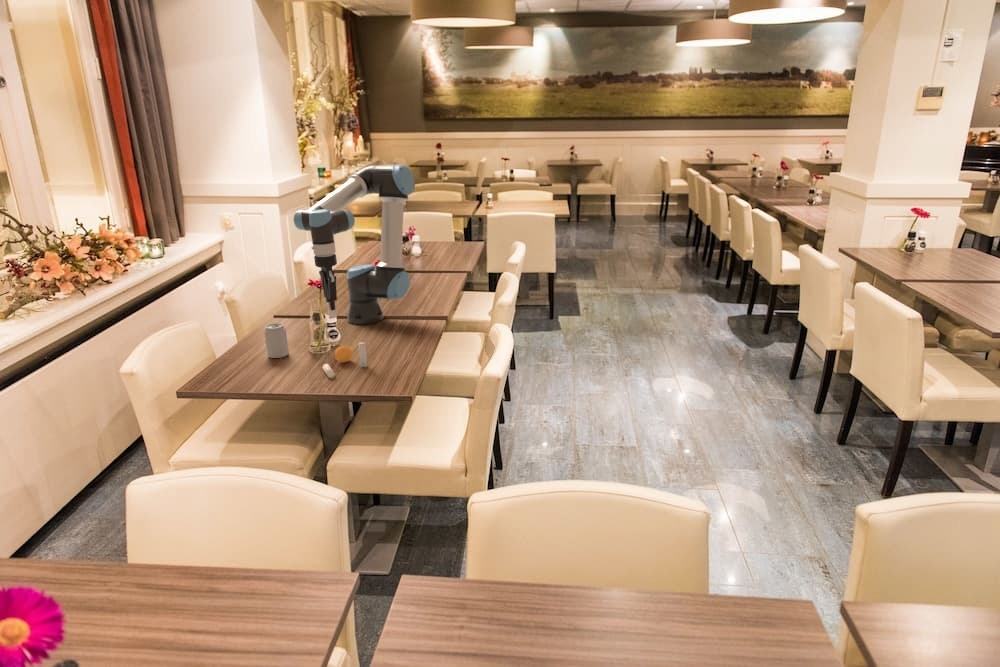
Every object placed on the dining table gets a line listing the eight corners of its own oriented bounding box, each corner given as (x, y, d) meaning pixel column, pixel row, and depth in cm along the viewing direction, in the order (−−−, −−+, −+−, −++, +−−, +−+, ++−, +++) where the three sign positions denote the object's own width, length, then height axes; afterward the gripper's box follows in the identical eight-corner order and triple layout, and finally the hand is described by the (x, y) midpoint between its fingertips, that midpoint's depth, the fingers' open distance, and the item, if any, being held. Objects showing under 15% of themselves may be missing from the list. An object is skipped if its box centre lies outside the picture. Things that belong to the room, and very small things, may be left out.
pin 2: (359, 365, 236) (357, 343, 233) (366, 364, 237) (363, 341, 234) (361, 368, 234) (359, 345, 231) (368, 366, 235) (366, 343, 232)
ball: (339, 364, 235) (335, 364, 240) (356, 360, 238) (351, 360, 243) (335, 348, 235) (331, 348, 240) (352, 343, 237) (347, 344, 243)
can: (292, 352, 251) (288, 322, 247) (284, 359, 244) (279, 328, 240) (273, 352, 251) (268, 322, 248) (264, 359, 244) (259, 328, 241)
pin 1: (321, 368, 232) (326, 376, 225) (325, 362, 232) (330, 370, 225) (326, 371, 233) (332, 379, 226) (330, 365, 233) (336, 373, 226)
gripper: (309, 252, 240) (317, 315, 249) (319, 259, 230) (328, 324, 238) (329, 249, 244) (337, 311, 252) (340, 256, 233) (348, 320, 241)
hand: (333, 317), depth 245 cm, fingers closed
